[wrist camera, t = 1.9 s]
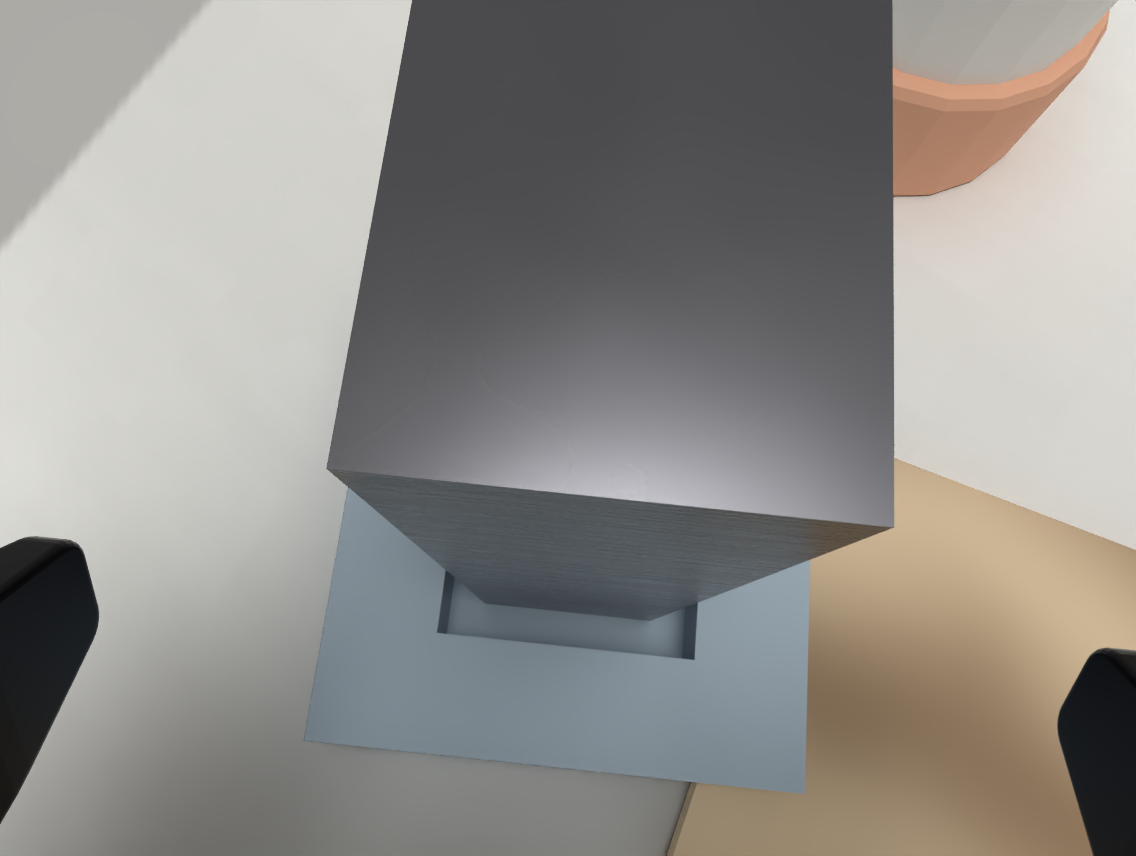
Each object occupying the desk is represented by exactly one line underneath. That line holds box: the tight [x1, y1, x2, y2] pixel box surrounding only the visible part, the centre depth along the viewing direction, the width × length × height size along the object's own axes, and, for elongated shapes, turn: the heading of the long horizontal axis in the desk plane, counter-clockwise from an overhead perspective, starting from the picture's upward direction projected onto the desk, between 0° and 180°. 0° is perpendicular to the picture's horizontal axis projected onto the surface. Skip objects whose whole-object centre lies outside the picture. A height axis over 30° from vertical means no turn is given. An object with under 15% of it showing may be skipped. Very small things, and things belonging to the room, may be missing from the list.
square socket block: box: [304, 487, 810, 794], centre depth 17 cm, size 9×9×2 cm
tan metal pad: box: [667, 458, 1136, 856], centre depth 16 cm, size 12×12×1 cm
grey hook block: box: [326, 0, 894, 621], centre depth 12 cm, size 6×3×13 cm, turn 174°
